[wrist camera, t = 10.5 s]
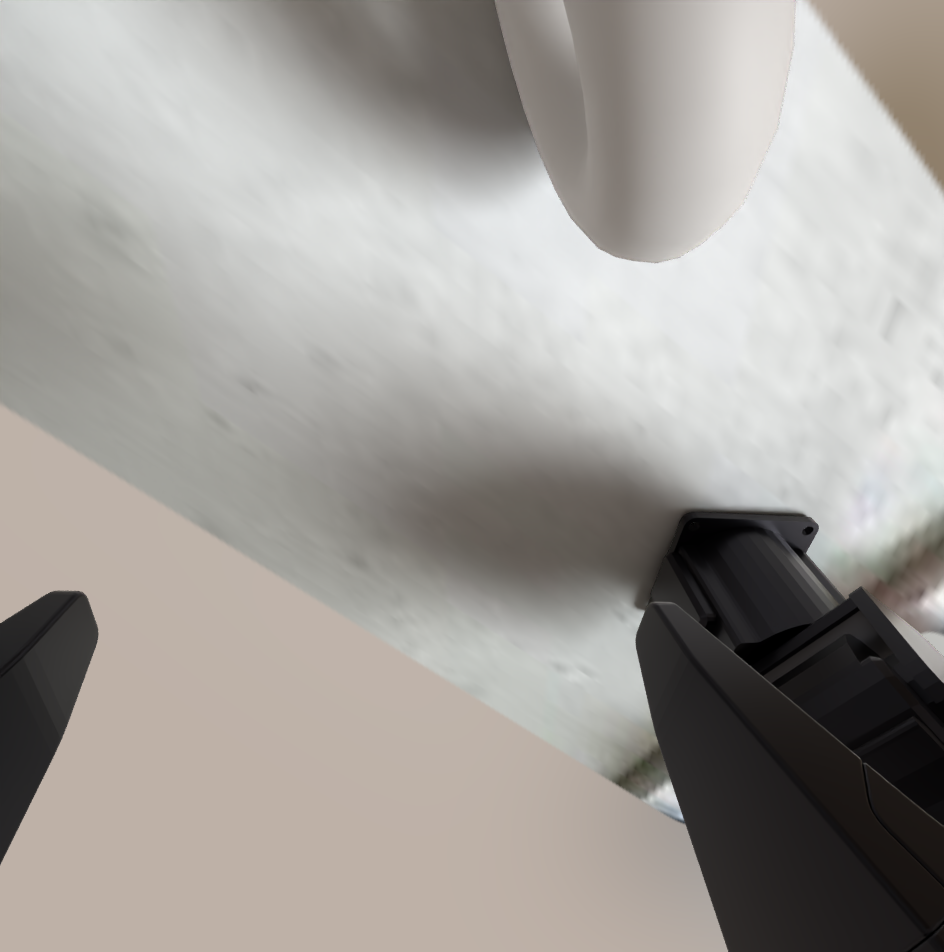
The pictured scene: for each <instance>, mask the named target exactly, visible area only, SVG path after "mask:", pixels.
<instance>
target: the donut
mask: <svg viewBox="0 0 944 952" xmlns="http://www.w3.org/2000/svg"><path fill="white" fill-rule="evenodd" d="M494 1H495V6H496V10H497V14H498V18H499V22H500V26H501V30H502V34H503V38H504V42H505V46H506V50H507V54H508V58H509V61H510V65H511V68H512V72H513V75H514V78H515V82H516V85H517V88H518V92H519V95H520V98H521V102H522V105H523V108H524V112H525V115H526V117H527V120H528V123H529V126H530V129H531V131H532V134H533V137H534V140H535V143H536V145H537V148H538V151H539V154H540V156H541V159H542V161H543V163H544V166H545V168H546V170H547V173H548V175H549V177H550V180H551V182H552V184H553V186H554V189H555V191H556V193H557V195H558V197H559V198H560V200H561V202H562V204H563V205H564V207H565V209H566V211H567V212H568V214H569V216H570V218H571V219H572V220H573V221H574V222H575V224H576V225H577V226H578V227H579V228H580V229H581V230H582V231H583V232H584V233H585V235H586V236H587V237H588V238H589V239H590V240H591V241H592V242H593V243H594V244H595V245H596V246H597V247H598V249H600V250H603V251H605V252H607V253H609V254H611V255H613V256H615V257H618V258H622V259H627V260H631V261H639V262H649V263H659V262H663V261H668V260H672V259H676V258H680V257H681V256H683V255H685V254H686V253H688V252H690V251H691V250H693V249H695V248H696V247H698V246H700V245H701V244H702V243H703V242H705V241H706V240H707V239H708V238H709V237H711V236H712V235H713V234H714V233H715V232H717V231H718V230H719V229H720V228H721V227H723V226H724V225H725V224H726V223H727V222H728V221H729V220H730V219H731V217H732V216H733V215H734V214H735V213H736V212H737V211H738V210H739V209H740V208H741V207H742V205H743V204H744V202H745V200H746V198H747V196H748V194H749V191H750V189H751V187H752V185H753V183H754V181H755V178H756V176H757V174H758V172H759V170H760V167H761V165H762V163H763V161H764V158H765V156H766V154H767V152H768V150H769V147H770V145H771V143H772V141H773V139H774V136H775V134H776V132H777V130H778V126H779V121H780V116H781V111H782V105H783V100H784V95H785V90H786V85H787V80H788V75H789V70H790V65H791V60H792V55H793V49H794V39H795V8H796V0H494Z"/></svg>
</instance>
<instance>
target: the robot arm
mask: <svg viewBox="0 0 944 952" xmlns="http://www.w3.org/2000/svg"><path fill="white" fill-rule="evenodd" d="M693 522H695V524H693V525H690V524H691V523H693ZM804 528H805V529H804ZM818 529H819V526H818V524H817V523H816V522H815V521H814V520H813V519H812V518H810V517H800V516H777V515H753V514H729V513H705V512H691V513H688V514H686V515H685V516H683V517H682V519H681V520H680V523H679V525H678V528H677V531H676V533H675V536H674V538H673V541H672V544H671V546H670V549H669V551H668V554H667V555H666V556H665V557H664V560H663V563H662V565H661V568H660V570H659V573H658V576H657V578H656V581H655V584H654V586H653V589H652V591H651V598H650V601H649V603H648V606H647V608H646V610H645V613H644V615H643V618H642V621H641V623H640V626H639V628H638V631H637V634H636V650H637V654H638V659H639V663H640V668H641V672H642V677H643V681H644V686H645V690H646V695H647V699H648V704H649V709H650V713H651V718H652V722H653V726H654V730H655V733H656V737H657V740H658V743H659V746H660V749H661V752H662V755H663V758H664V761H665V764H666V767H667V770H668V773H669V776H670V779H671V782H672V785H673V788H674V791H675V794H676V797H677V800H678V803H679V806H680V809H681V812H682V815H683V818H684V821H685V824H686V827H687V830H688V833H689V836H690V839H691V841H692V845H693V848H694V850H695V854H696V857H697V860H698V862H699V865H700V868H701V871H702V874H703V877H704V880H705V883H706V886H707V889H708V892H709V895H710V898H711V901H712V904H713V907H714V910H715V913H716V916H717V919H718V922H719V925H720V928H721V931H722V934H723V937H724V940H725V943H726V946H727V949H728V952H944V657H943V656H942V655H941V654H940V653H939V652H938V651H937V650H936V649H935V648H934V647H933V646H932V645H931V644H930V643H929V642H928V641H927V640H926V639H925V638H924V637H923V636H922V635H921V634H920V633H919V632H918V631H917V630H915V629H914V628H913V627H912V626H910V625H909V624H908V623H907V622H905V621H904V620H903V619H902V618H900V617H899V616H898V615H897V614H895V613H894V612H893V611H892V610H890V609H889V608H888V607H887V606H885V605H884V604H883V603H882V602H880V601H879V600H878V599H877V598H875V597H874V596H873V595H872V594H870V593H869V592H868V591H867V590H865V589H864V588H863V587H859V588H858V589H856V590H855V591H853V592H852V593H851V594H849V597H850V598H848V599H847V600H846V599H845V598H844V597H843V596H842V594H841V593H840V592H839V591H838V590H837V589H836V588H835V586H834V585H833V584H832V583H831V582H830V581H829V580H828V578H827V577H826V576H825V575H824V574H823V573H822V572H821V570H820V569H819V568H818V567H817V566H816V565H815V563H814V562H813V561H812V560H811V559H810V558H809V557H808V555H807V554H806V552H807V550H808V548H809V546H810V544H811V543H812V541H813V539H814V537H815V535H816V534H817V532H818ZM97 640H98V627H97V624H96V621H95V618H94V615H93V612H92V610H91V607H90V604H89V601H88V598H87V596H86V595H85V594H84V593H83V592H80V591H53V592H50V593H48V594H46V595H45V596H43V597H41V598H40V599H38V600H37V601H35V602H33V603H32V604H30V605H29V606H27V607H25V608H24V609H22V610H21V611H19V612H18V613H16V614H14V615H13V616H11V617H10V618H8V619H6V620H5V621H3V622H2V623H0V864H1V862H2V860H3V858H4V856H5V854H6V852H7V850H8V848H9V846H10V844H11V842H12V840H13V838H14V836H15V834H16V831H17V830H18V828H19V826H20V823H21V822H22V819H23V818H24V816H25V814H26V812H27V810H28V807H29V805H30V803H31V801H32V799H33V797H34V795H35V793H36V791H37V789H38V787H39V785H40V783H41V781H42V779H43V777H44V775H45V773H46V771H47V769H48V767H49V765H50V763H51V761H52V759H53V756H54V755H55V752H56V750H57V748H58V746H59V744H60V742H61V739H62V737H63V734H64V732H65V729H66V727H67V724H68V722H69V719H70V716H71V713H72V710H73V708H74V705H75V702H76V699H77V697H78V694H79V691H80V689H81V686H82V683H83V680H84V678H85V674H86V672H87V669H88V666H89V664H90V661H91V658H92V656H93V653H94V650H95V647H96V644H97Z"/></svg>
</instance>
